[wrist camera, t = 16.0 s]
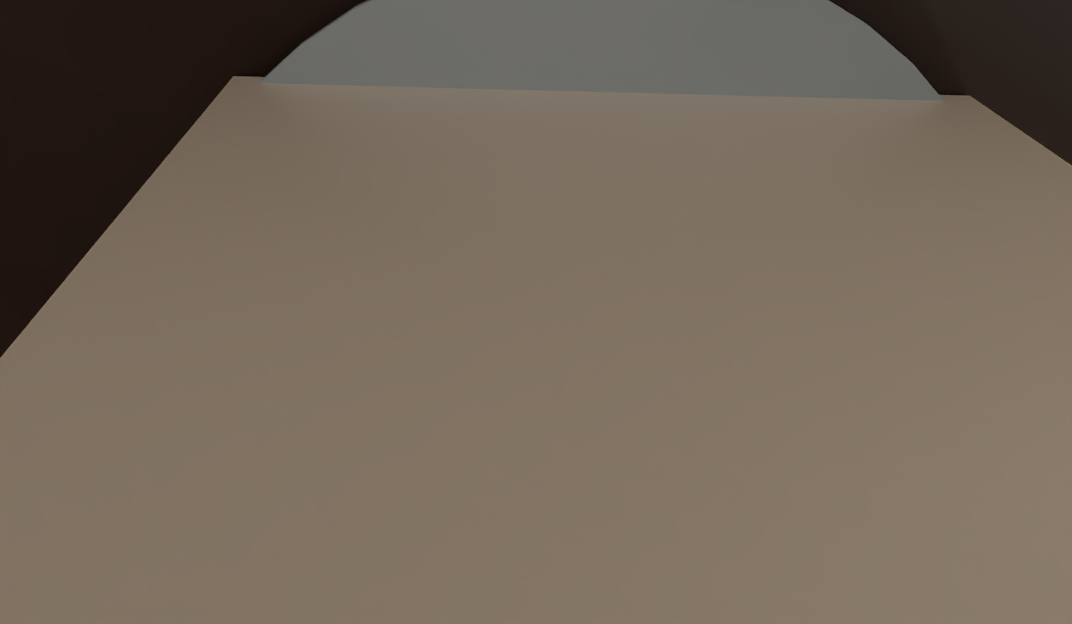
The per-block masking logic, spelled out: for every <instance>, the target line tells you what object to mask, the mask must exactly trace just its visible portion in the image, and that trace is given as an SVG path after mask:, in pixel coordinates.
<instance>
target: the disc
mask: <svg viewBox="0 0 1072 624" xmlns="http://www.w3.org/2000/svg"><path fill="white" fill-rule="evenodd" d="M260 83H275V84H313V85H351V86H390V87H428V88H467V89H505V90H543V91H582V92H620V93H659V94H697V95H735V96H774V97H812V98H851V99H889V100H927V101H943V99H942V98H941V97H940V96H939V95H938V93H937V92H936V91H935V90H934V89H933V87H932V86H931V85H930V84H929V82H928V81H927V80H926V79H925V78H924V76H923V75H922V74H921V73H920V72H919V70H918V69H917V68H916V67H915V66H914V64H913V63H912V62H910V61H909V60H908V59H907V58H906V57H905V56H903V55H902V54H901V53H900V52H899V51H898V50H896V49H895V48H894V47H893V46H892V45H891V44H890V43H888V42H887V41H886V40H885V39H884V38H883V37H881V36H880V35H879V34H878V33H877V32H876V31H874V30H873V29H872V28H871V27H870V26H869V25H867V24H866V23H864V22H863V21H861V20H860V19H858V18H857V17H855V16H853V15H852V14H850V13H849V12H847V11H845V10H844V9H842V8H840V7H839V6H837V5H836V4H834V3H832V2H831V1H829V0H366V1H364V2H362V3H360V4H358V5H356V6H354V7H353V8H351V9H350V10H348V11H347V12H345V13H344V14H342V15H341V16H340V17H338V18H337V19H335V20H334V21H332V22H331V23H329V24H328V25H326V26H325V27H323V28H322V29H321V30H319V31H318V32H316V33H315V34H313V35H312V36H310V37H309V38H307V39H306V40H304V41H303V42H302V43H301V44H300V45H299V46H297V47H296V48H295V49H294V50H293V51H292V52H291V53H290V54H289V55H288V56H287V57H286V58H284V59H283V60H282V61H281V62H280V63H279V64H278V65H277V66H276V67H275V68H274V69H273V70H272V71H270V72H269V73H268V74H267V75H266V76H265V77H264V78H263V80H262V81H261V82H260Z"/></svg>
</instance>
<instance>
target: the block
mask: <svg viewBox="0 0 1072 624" xmlns="http://www.w3.org/2000/svg"><path fill="white" fill-rule="evenodd" d="M263 78H264V77H245V76H233V77H232V79H231V80H230V81H229V82H228V83H227V85H226V86H225V87H224V88H223V89H222V91H221V92H220V93H219V94H218V96H217V97H216V98H215V99H214V100H213V102H212V103H211V104H210V105H209V106H208V108H207V109H206V110H205V111H204V112H203V114H202V115H201V116H200V117H199V118H198V120H197V121H196V122H195V123H194V125H193V126H192V127H191V128H190V129H189V131H188V132H187V133H186V134H185V135H184V137H183V138H182V139H181V140H180V141H179V143H178V144H177V145H176V146H175V147H174V149H173V150H172V151H171V152H170V154H169V155H168V156H167V157H166V158H165V160H164V161H163V162H162V163H161V164H160V166H159V167H158V168H157V169H156V170H155V172H154V173H153V174H152V175H151V176H150V178H149V179H148V180H147V181H146V183H145V184H144V185H143V186H142V187H141V189H140V190H139V191H138V192H137V193H136V195H135V196H134V197H133V198H132V199H131V201H130V202H129V203H128V204H127V205H126V207H125V208H124V209H123V210H122V212H121V213H120V214H119V215H118V216H117V218H116V219H115V220H114V221H113V222H112V224H111V225H110V226H109V227H108V228H107V230H106V231H105V232H104V233H103V234H102V236H101V237H100V238H99V239H98V241H97V242H96V243H95V244H94V245H93V247H92V248H91V249H90V250H89V251H88V253H87V254H86V255H85V256H84V257H83V259H82V260H81V261H80V262H79V263H78V265H77V266H76V267H75V268H74V270H73V271H72V272H71V273H70V274H69V276H68V277H67V278H66V279H65V280H64V282H63V283H62V284H61V285H60V286H59V288H58V289H57V290H56V291H55V292H54V294H53V295H52V296H51V297H50V299H49V300H48V301H47V302H46V303H45V305H44V306H43V307H42V308H41V309H40V311H39V312H38V313H37V314H36V315H35V317H34V318H33V319H32V320H31V321H30V323H29V324H28V325H27V326H26V328H25V329H24V330H23V331H22V332H21V334H20V335H19V336H18V337H17V338H16V340H15V341H14V342H13V343H12V344H11V346H10V347H9V348H8V349H7V350H6V352H5V353H4V354H3V355H2V357H1V358H0V624H1072V165H1070V164H1069V163H1067V162H1066V161H1064V160H1063V159H1061V158H1060V157H1059V156H1057V155H1056V154H1054V153H1053V152H1051V151H1050V150H1048V149H1047V148H1045V147H1044V146H1042V145H1041V144H1040V143H1038V142H1037V141H1035V140H1034V139H1032V138H1031V137H1029V136H1028V135H1026V134H1025V133H1024V132H1022V131H1021V130H1019V129H1018V128H1016V127H1015V126H1013V125H1012V124H1010V123H1009V122H1007V121H1006V120H1005V119H1003V118H1002V117H1000V116H999V115H997V114H996V113H994V112H993V111H991V110H990V109H989V108H987V107H986V106H984V105H983V104H981V103H980V102H978V101H977V100H975V99H974V98H972V97H971V96H963V95H939V96H940V97H941V98H942V99H943V101H927V100H889V99H851V98H812V97H774V96H735V95H697V94H659V93H620V92H582V91H543V90H505V89H467V88H428V87H390V86H351V85H313V84H275V83H260V82H261V81H262V80H263Z"/></svg>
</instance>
